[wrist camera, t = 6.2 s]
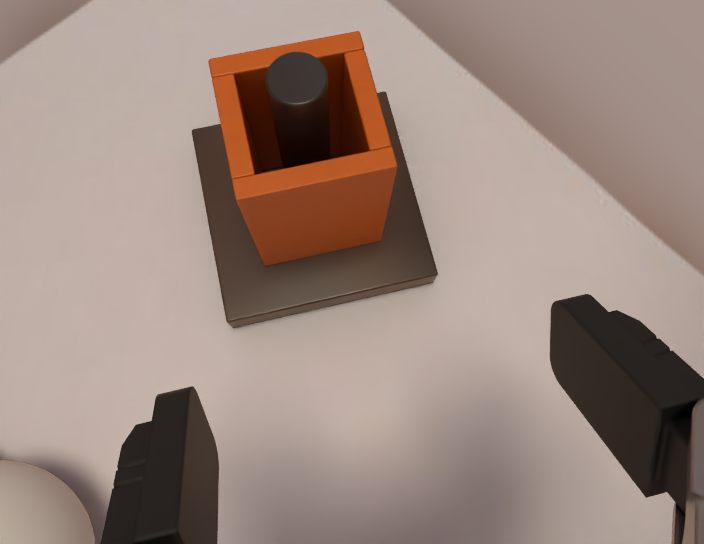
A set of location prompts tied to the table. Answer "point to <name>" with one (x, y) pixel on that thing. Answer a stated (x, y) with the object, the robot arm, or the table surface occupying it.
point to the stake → (319, 270)
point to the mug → (39, 508)
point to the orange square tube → (315, 178)
